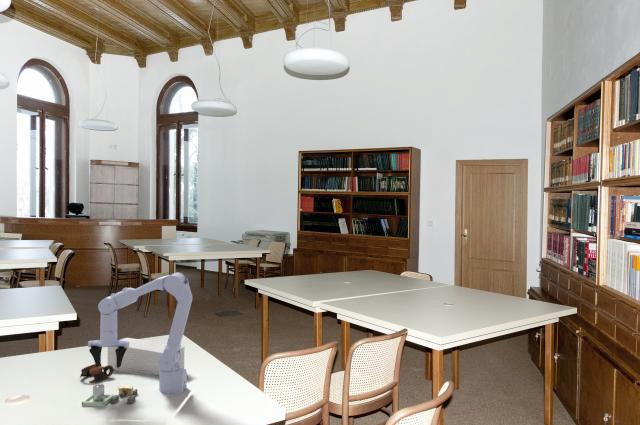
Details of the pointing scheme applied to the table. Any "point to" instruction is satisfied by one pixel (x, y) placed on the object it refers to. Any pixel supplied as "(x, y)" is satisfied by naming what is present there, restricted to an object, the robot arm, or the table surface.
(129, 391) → the tan rectangular block
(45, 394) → the table surface
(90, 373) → the brown piece
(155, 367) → the long grey box
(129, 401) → the board
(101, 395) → the shiny metal cylinder
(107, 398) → the tray
